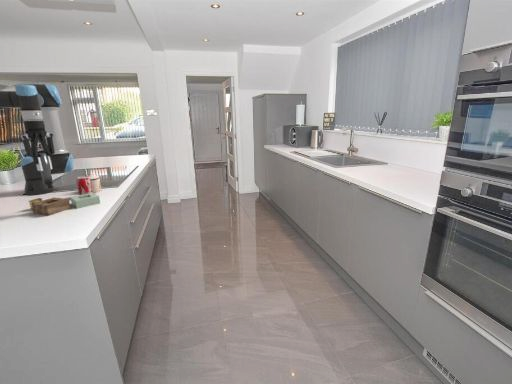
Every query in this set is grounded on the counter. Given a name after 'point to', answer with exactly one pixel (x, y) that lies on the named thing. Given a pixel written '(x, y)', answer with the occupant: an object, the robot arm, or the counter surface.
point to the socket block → (51, 206)
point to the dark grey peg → (45, 169)
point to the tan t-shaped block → (35, 201)
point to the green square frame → (85, 200)
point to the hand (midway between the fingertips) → (45, 169)
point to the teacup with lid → (95, 182)
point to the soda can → (84, 185)
